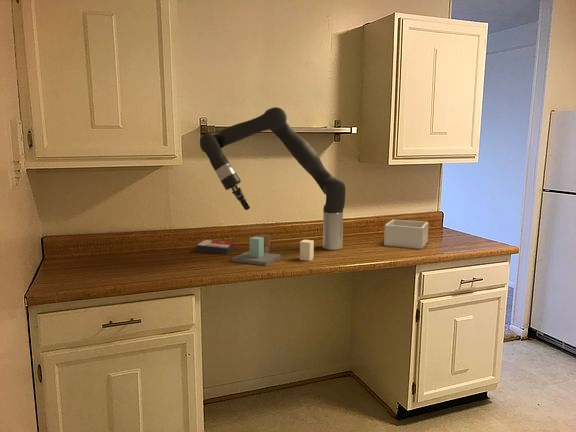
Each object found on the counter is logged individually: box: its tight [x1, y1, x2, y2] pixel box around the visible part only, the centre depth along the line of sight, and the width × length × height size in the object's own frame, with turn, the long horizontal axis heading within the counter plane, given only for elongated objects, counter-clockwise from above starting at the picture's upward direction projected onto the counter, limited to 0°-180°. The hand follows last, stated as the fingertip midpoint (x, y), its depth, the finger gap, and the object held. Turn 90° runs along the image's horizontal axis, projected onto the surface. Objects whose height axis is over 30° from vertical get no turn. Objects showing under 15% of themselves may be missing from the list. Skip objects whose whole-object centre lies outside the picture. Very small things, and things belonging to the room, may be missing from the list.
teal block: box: [248, 236, 264, 258], centre depth 201 cm, size 4×4×8 cm
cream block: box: [299, 239, 315, 262], centre depth 202 cm, size 4×4×8 cm
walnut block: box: [256, 233, 271, 253], centre depth 213 cm, size 4×4×8 cm
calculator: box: [195, 239, 236, 255], centre depth 217 cm, size 11×4×15 cm
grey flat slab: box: [231, 250, 282, 267], centre depth 201 cm, size 14×16×2 cm
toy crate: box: [383, 219, 429, 250], centre depth 233 cm, size 18×18×10 cm
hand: (247, 208), depth 201 cm, fingers open, 8 cm apart
